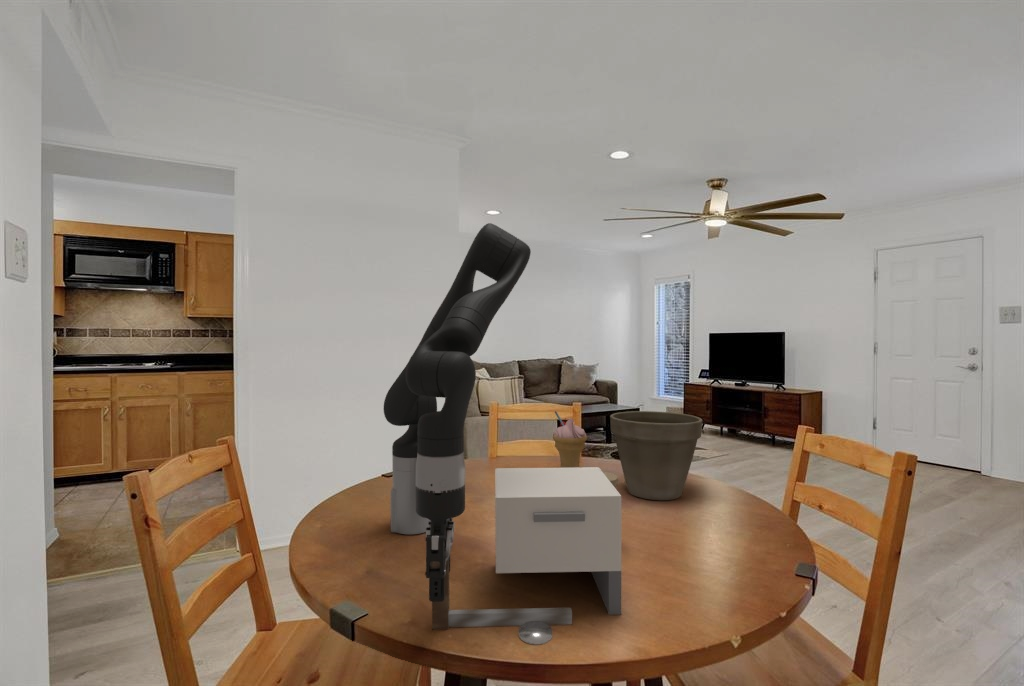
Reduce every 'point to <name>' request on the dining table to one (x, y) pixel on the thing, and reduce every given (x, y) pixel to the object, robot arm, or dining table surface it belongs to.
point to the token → (535, 632)
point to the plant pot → (655, 451)
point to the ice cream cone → (569, 443)
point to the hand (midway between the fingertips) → (440, 586)
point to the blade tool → (492, 613)
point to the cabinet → (560, 525)
